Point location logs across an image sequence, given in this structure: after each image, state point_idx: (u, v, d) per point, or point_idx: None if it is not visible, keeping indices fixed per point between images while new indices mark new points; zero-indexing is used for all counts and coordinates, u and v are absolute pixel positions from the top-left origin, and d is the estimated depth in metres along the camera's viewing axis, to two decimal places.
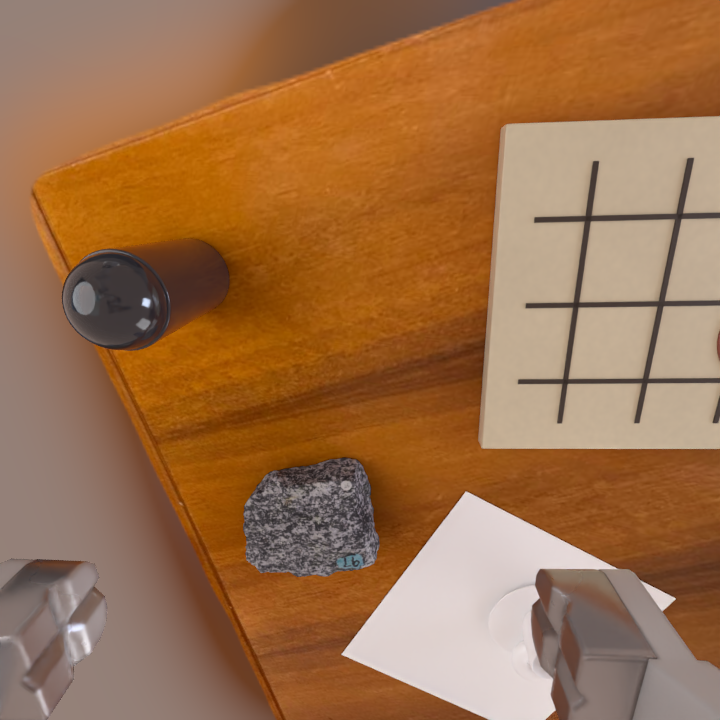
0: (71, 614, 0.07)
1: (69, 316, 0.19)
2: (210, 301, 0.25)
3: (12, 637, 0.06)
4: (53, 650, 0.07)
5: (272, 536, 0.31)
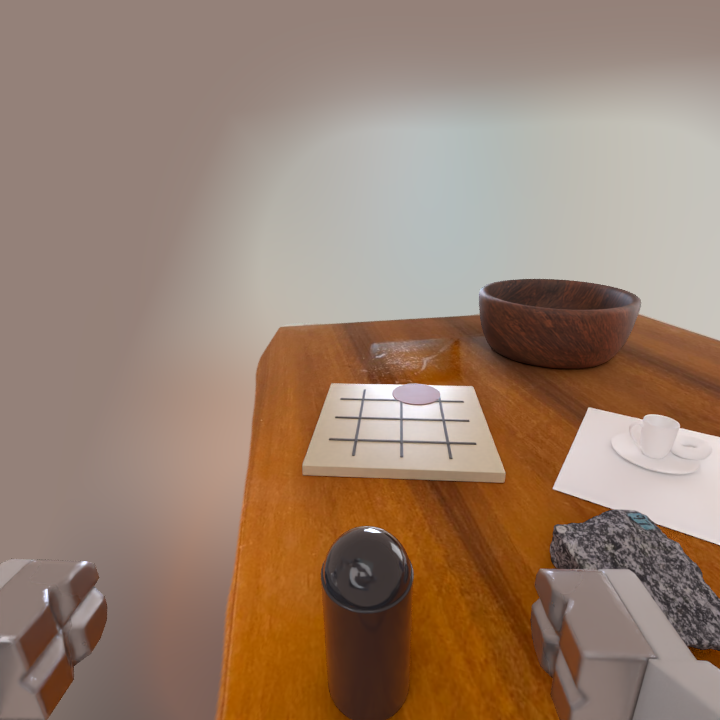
0: (71, 614, 0.07)
1: (370, 564, 0.21)
2: None
3: (13, 637, 0.06)
4: (53, 650, 0.07)
5: (668, 600, 0.27)
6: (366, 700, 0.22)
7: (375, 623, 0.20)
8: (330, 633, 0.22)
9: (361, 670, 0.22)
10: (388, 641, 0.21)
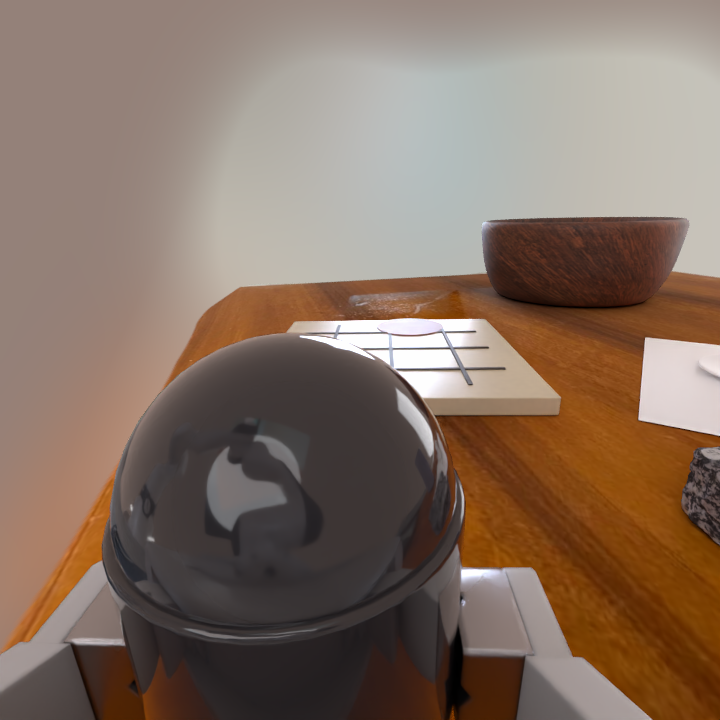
0: None
1: (282, 410, 0.04)
2: None
3: None
4: None
5: None
6: None
7: (309, 693, 0.04)
8: None
9: None
10: None
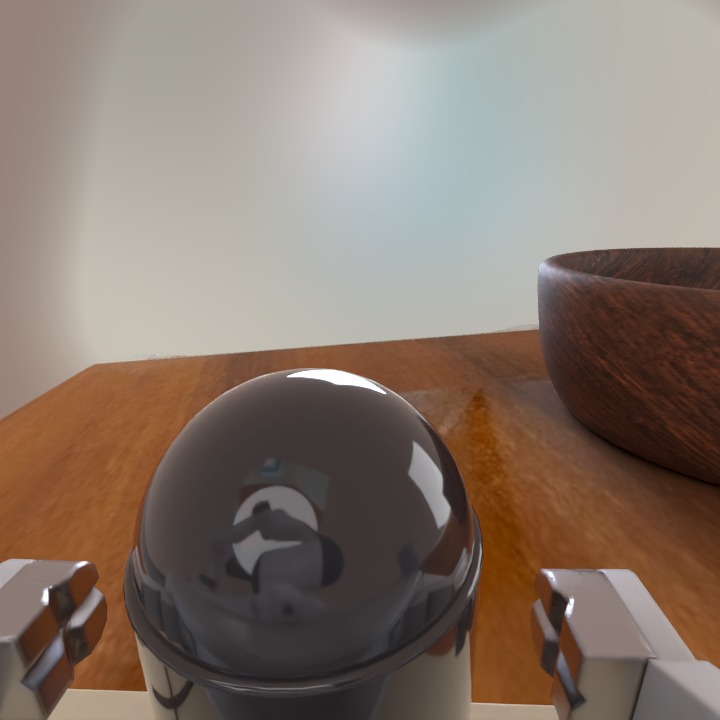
0: (71, 614, 0.07)
1: (306, 459, 0.04)
2: None
3: (12, 636, 0.06)
4: (53, 650, 0.07)
5: None
6: None
7: None
8: None
9: None
10: None
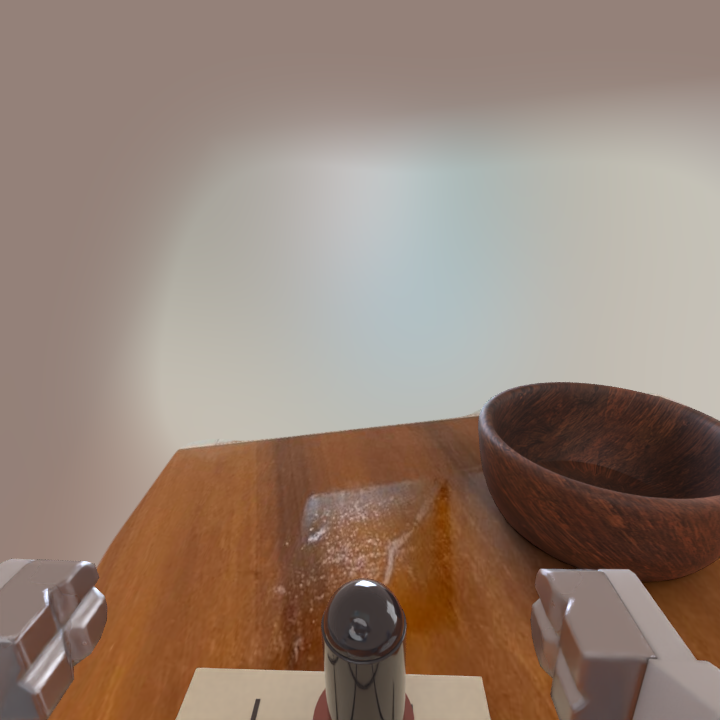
0: (71, 614, 0.07)
1: (367, 618, 0.23)
2: None
3: (12, 636, 0.06)
4: (53, 650, 0.07)
5: None
6: None
7: (373, 673, 0.22)
8: (331, 683, 0.24)
9: (360, 717, 0.23)
10: (385, 689, 0.23)
